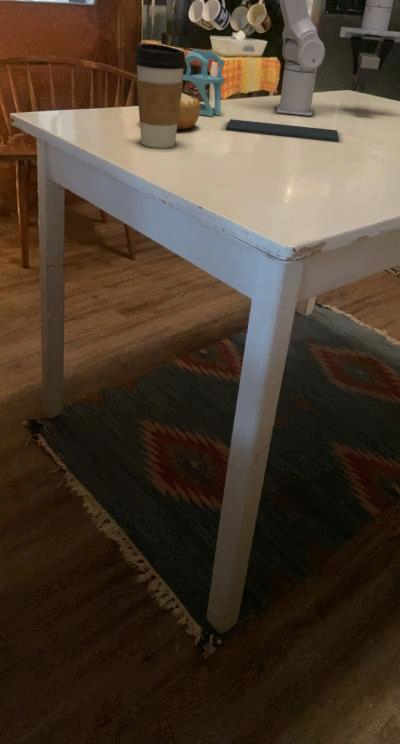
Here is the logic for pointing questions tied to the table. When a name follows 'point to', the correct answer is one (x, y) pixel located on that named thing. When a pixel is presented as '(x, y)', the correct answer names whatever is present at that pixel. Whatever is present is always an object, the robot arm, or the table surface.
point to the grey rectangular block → (367, 70)
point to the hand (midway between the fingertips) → (365, 75)
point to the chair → (206, 79)
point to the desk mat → (283, 130)
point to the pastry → (188, 112)
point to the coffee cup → (159, 93)
